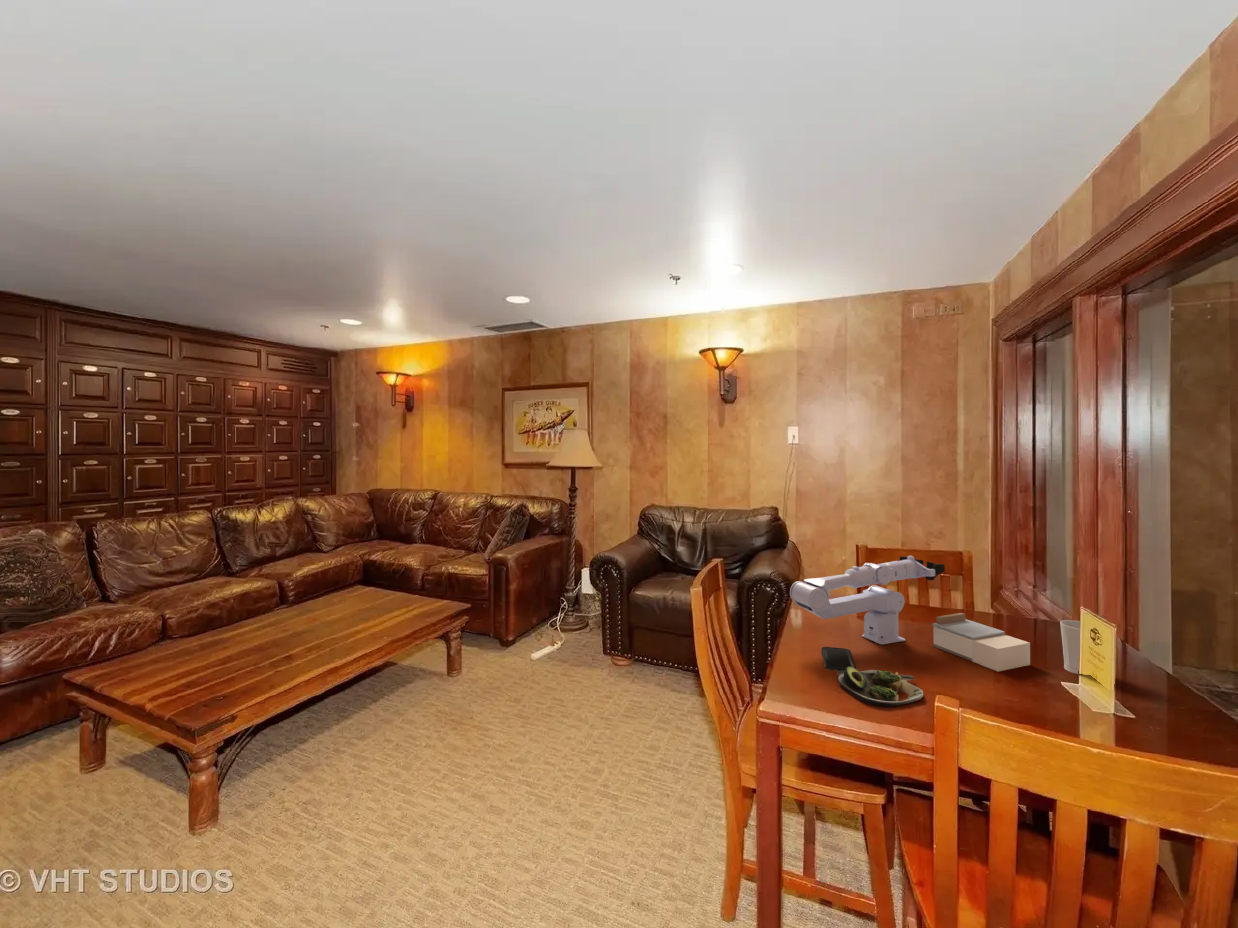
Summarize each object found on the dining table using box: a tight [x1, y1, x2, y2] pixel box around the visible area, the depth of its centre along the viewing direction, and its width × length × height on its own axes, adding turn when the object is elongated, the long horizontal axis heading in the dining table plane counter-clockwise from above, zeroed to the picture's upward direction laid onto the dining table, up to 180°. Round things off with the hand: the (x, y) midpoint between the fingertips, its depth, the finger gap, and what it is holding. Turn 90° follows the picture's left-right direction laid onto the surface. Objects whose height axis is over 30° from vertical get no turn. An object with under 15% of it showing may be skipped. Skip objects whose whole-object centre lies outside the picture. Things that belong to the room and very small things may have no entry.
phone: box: [821, 646, 857, 672], centre depth 146 cm, size 8×1×15 cm
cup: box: [1059, 619, 1081, 675], centre depth 135 cm, size 8×8×12 cm
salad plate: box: [834, 667, 925, 708], centre depth 128 cm, size 19×18×5 cm
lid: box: [931, 612, 1006, 639], centre depth 150 cm, size 12×12×2 cm
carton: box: [932, 625, 1031, 672], centre depth 147 cm, size 12×19×6 cm, turn 18°
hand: (932, 565), depth 166 cm, fingers open, 7 cm apart
